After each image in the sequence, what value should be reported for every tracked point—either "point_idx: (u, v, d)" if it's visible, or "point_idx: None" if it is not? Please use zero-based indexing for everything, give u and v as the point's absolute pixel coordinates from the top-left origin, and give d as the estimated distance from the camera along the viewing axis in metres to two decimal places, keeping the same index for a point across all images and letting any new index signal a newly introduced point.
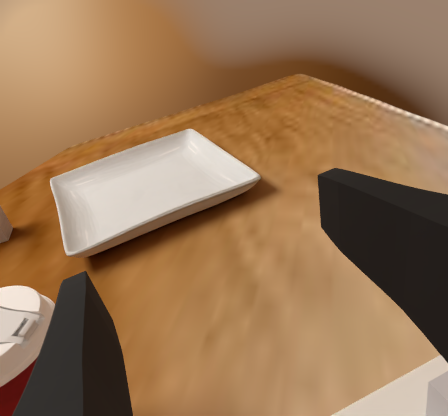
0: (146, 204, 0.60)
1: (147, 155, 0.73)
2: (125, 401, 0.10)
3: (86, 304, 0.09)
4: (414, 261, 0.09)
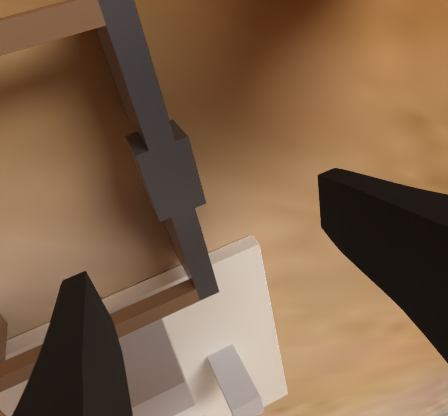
0: None
1: None
2: (125, 401, 0.10)
3: (86, 304, 0.09)
4: (414, 261, 0.09)
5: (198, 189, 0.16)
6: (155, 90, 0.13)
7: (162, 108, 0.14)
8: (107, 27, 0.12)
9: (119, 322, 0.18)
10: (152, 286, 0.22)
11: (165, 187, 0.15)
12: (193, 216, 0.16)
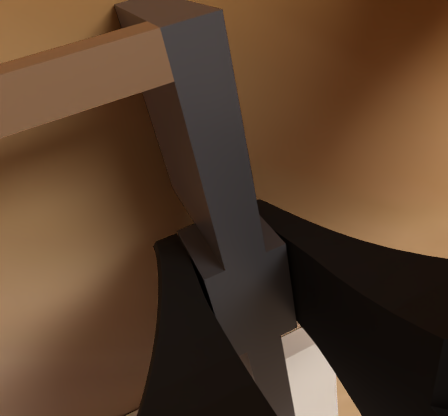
0: None
1: None
2: None
3: None
4: (322, 307, 0.09)
5: (289, 311, 0.10)
6: (245, 182, 0.08)
7: (253, 207, 0.08)
8: (175, 84, 0.06)
9: None
10: None
11: (243, 316, 0.10)
12: (277, 346, 0.11)
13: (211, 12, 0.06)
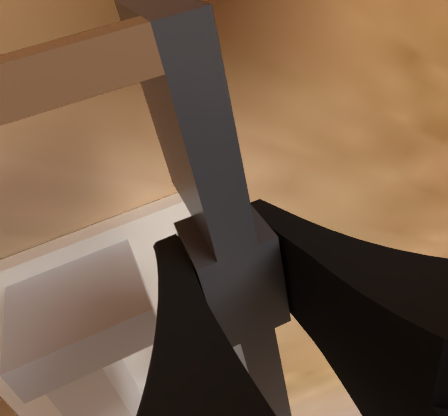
0: None
1: None
2: None
3: None
4: (322, 306, 0.09)
5: (282, 304, 0.10)
6: (236, 174, 0.08)
7: (244, 200, 0.08)
8: (166, 77, 0.07)
9: None
10: (124, 220, 0.20)
11: (237, 307, 0.10)
12: (271, 338, 0.11)
13: (201, 7, 0.06)
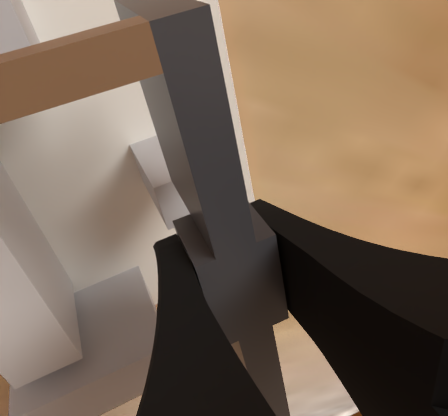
0: None
1: None
2: None
3: (189, 259, 0.10)
4: (322, 307, 0.09)
5: (280, 302, 0.11)
6: (234, 172, 0.08)
7: (242, 198, 0.08)
8: (164, 76, 0.07)
9: None
10: None
11: (235, 305, 0.10)
12: (269, 336, 0.11)
13: (199, 7, 0.06)
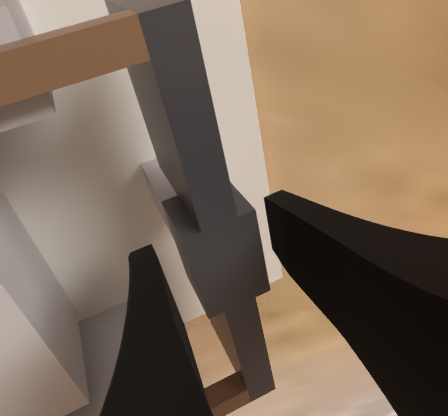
0: None
1: None
2: (196, 366, 0.10)
3: (161, 271, 0.09)
4: (349, 293, 0.09)
5: (262, 274, 0.11)
6: (216, 151, 0.09)
7: (224, 175, 0.09)
8: (152, 63, 0.08)
9: None
10: None
11: (220, 277, 0.11)
12: (252, 307, 0.12)
13: (181, 1, 0.07)
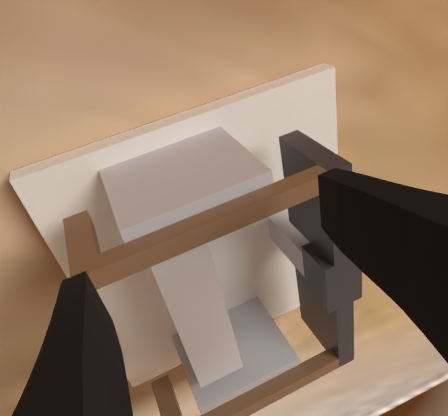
0: None
1: None
2: (125, 401, 0.10)
3: (86, 304, 0.09)
4: (414, 261, 0.09)
5: (359, 288, 0.20)
6: None
7: None
8: None
9: (280, 388, 0.22)
10: (217, 105, 0.19)
11: (338, 290, 0.19)
12: (350, 307, 0.20)
13: (347, 165, 0.16)
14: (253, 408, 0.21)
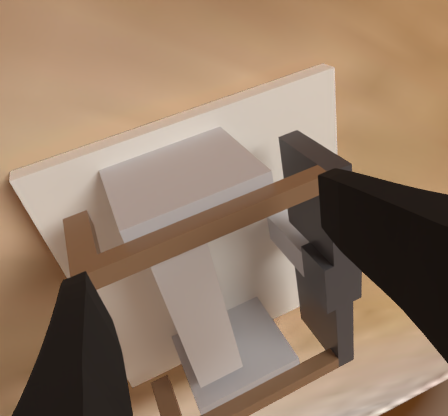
0: None
1: None
2: (125, 401, 0.10)
3: (86, 304, 0.09)
4: (414, 261, 0.09)
5: (358, 288, 0.20)
6: None
7: None
8: None
9: (280, 388, 0.22)
10: (217, 105, 0.19)
11: (337, 290, 0.19)
12: (350, 307, 0.20)
13: (347, 165, 0.16)
14: (253, 408, 0.21)
